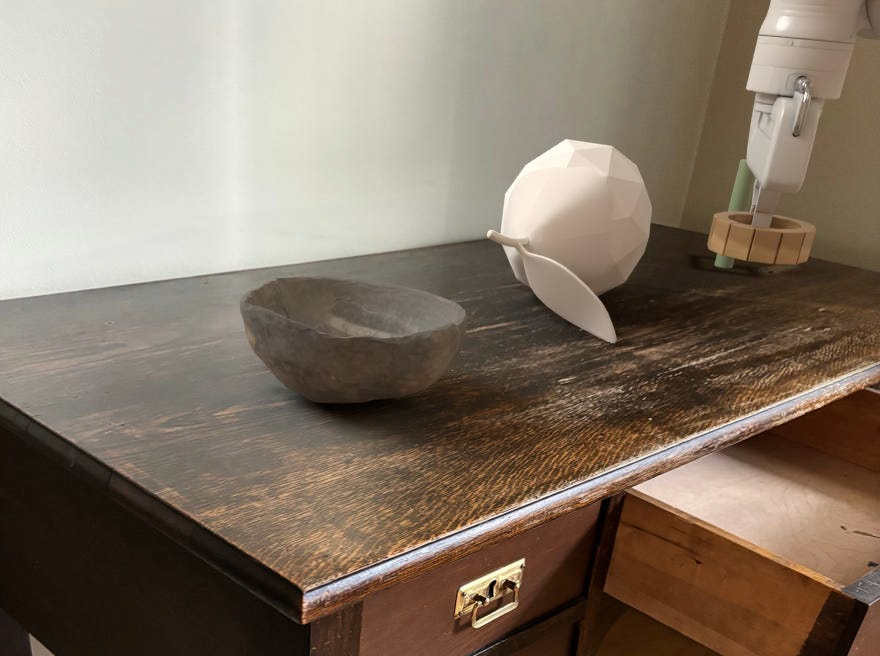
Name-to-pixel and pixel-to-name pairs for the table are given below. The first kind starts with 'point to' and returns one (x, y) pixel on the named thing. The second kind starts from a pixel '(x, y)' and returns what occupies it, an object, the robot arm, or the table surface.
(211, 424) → the table surface
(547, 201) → the pear ornament
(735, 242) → the ring
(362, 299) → the bowl
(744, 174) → the green post
